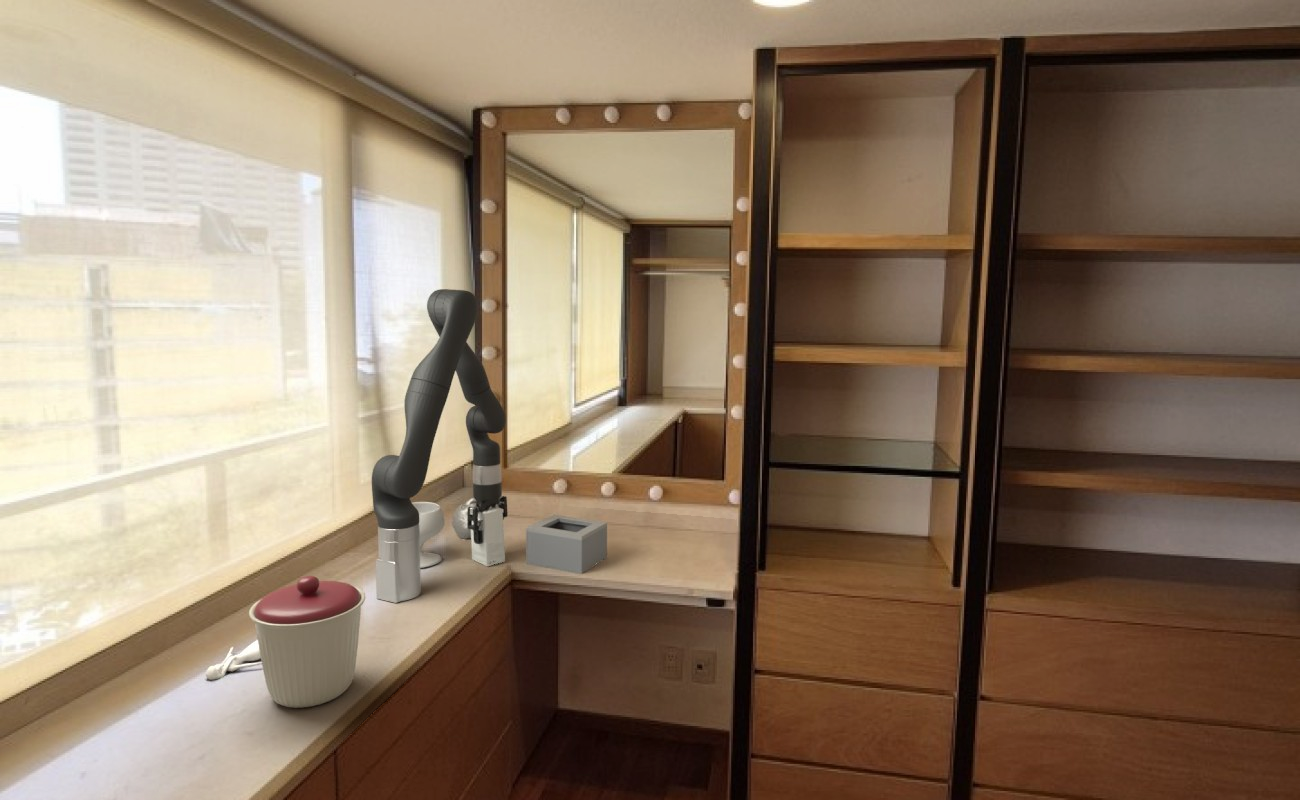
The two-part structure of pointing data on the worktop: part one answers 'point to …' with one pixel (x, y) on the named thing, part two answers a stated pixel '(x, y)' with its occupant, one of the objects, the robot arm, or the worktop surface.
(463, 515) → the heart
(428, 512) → the chalice
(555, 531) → the open gray box
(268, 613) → the canister
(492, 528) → the skincare box
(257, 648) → the woman figurine
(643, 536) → the worktop surface
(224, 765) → the worktop surface
